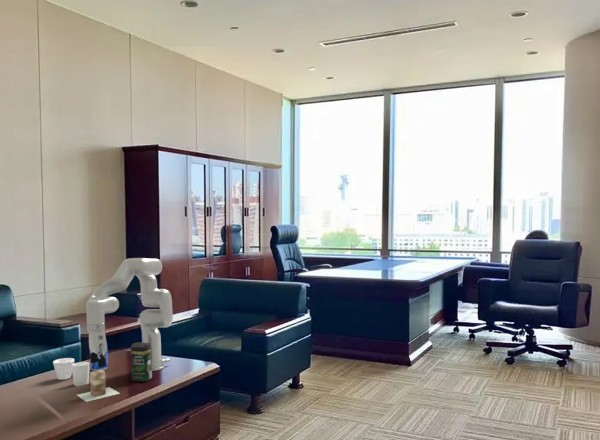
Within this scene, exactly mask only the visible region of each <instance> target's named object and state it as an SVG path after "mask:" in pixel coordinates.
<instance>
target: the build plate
mask: <svg viewBox="0 0 600 440" xmlns="http://www.w3.org/2000/svg"><path fill="white" fill-rule="evenodd" d="M120 394H121V393H120V392H119V391H117V390H115V389H113V388H111V387H109V386H108V387H106V394H104V395H100V396H96V397H94V396H93V395H91V391H87V392H84V393H83V392H82V393H79V394H78V393H77V394H76V396H77V397H78V398H80V399H81V400H83V401H84V402H85V403H86V402H91V401H95V400H96V401H97V400H99V399H103V398H107V397H111V396H115V395H120Z"/></svg>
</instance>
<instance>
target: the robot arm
mask: <svg viewBox="0 0 600 440" xmlns="http://www.w3.org/2000/svg"><path fill="white" fill-rule="evenodd" d="M162 270H163V263H162V261H161V260H160V259H158V258H146V257H133V258H132V257H131V258H125V259H124V260H123V261H122V262H121V263H120V266H119V267H118V268H117V270H116V271H115V273H114V275H112V278H110V279H108V280H107V281H105V282H103V283H101V284H100V285H99V286H98V287H96V288H95V289H94V290H93V291H92V293H91V295H90V296H89V298H88V300H87V301H86V303H85V310H86V311H85V312H86V327H87V328H86V329H87V333H88V347H89V354H90V355H89V357H90V359H89V360H90V364H91V363H96V362H98V367H99V368H101V367H105V366H106V356H105V355H106V354H105V352H107V353H108V343H107V344H106V342H107V338H106V332H105V330H106V323H105V322H106V319H105V317H106V316H105V315H106V314H112V313H114V312H116V311H117V310H118V309H119V307H120V301H119V300H118V298H116V297H115V296H110V295H112V294H113V295H114V294H116V293H119V292H121V291H124V290H127V288H128V287H129V285H130V283H131V282H132V280H133V279H134V277H135V276H136V277H137V278H138V280H139V284H140V285H139V286H140V298H141V303H142V304H141V305H143V307H145V308H146V307H147V308H148V309H144V310H142V311H141V313H140V314H139V324H140V330H141V340H142V341H141V342H142V343H150V344H151V353H150V361H151V370H152V372H156V371H159V370H163V369H165V363H170V362H171V359H170V357H169V358H162V341H161V339H162V338H161V332H160V330H159V329H158V328H160V329H161V328H163V329H164V328H169V327H170V326H171V325H172V323H173V319H174V318H173V317H174V315H173V299H172V295H171V292H170V291H169V290H168V289H165V288H158V281H157V278H156V276H158V275H159V274H161V272H162ZM149 308H151V309H149ZM152 308H153V309H152ZM154 308H155V309H154ZM156 308H157V309H156ZM99 351H100V352H99ZM100 354H101V355H100ZM98 358H99V359H98Z"/></svg>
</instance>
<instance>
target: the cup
mask: <svg viewBox="0 0 600 440" xmlns="http://www.w3.org/2000/svg"><path fill="white" fill-rule="evenodd" d="M74 363H75V358H72V357H64V358H58V359H55V360H53V361H52V364H53V367H54V371H55V375H56V379H57V381H66V380H69V379H71V378H72V374H73V372H72V364H74Z"/></svg>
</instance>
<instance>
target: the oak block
mask: <svg viewBox="0 0 600 440" xmlns="http://www.w3.org/2000/svg"><path fill="white" fill-rule="evenodd" d="M90 383H91V384H93V385H99V384H103V383H105V384H106V372H105V370H97V371H93V370H92V371H89V384H90Z"/></svg>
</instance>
